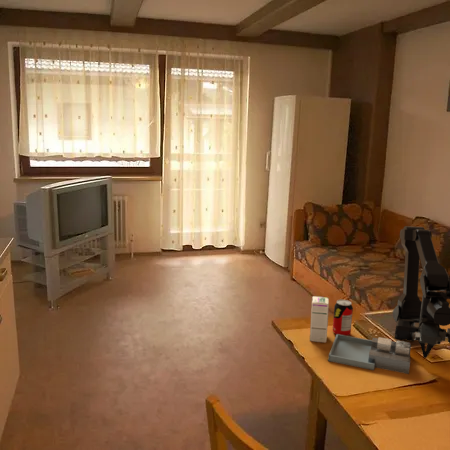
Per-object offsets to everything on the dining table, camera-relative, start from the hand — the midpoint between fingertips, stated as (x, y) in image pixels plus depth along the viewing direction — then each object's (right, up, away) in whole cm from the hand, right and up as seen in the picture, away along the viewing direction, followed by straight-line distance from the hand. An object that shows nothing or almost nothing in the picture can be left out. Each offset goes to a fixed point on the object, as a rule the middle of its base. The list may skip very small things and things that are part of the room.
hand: (424, 357), depth 149 cm
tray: (-20, -1, +8) cm, 21 cm away
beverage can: (-20, +2, +22) cm, 30 cm away
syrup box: (-30, +1, +18) cm, 35 cm away
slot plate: (-10, -2, +4) cm, 11 cm away
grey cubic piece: (-6, 0, +3) cm, 7 cm away
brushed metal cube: (-11, 0, +5) cm, 12 cm away
